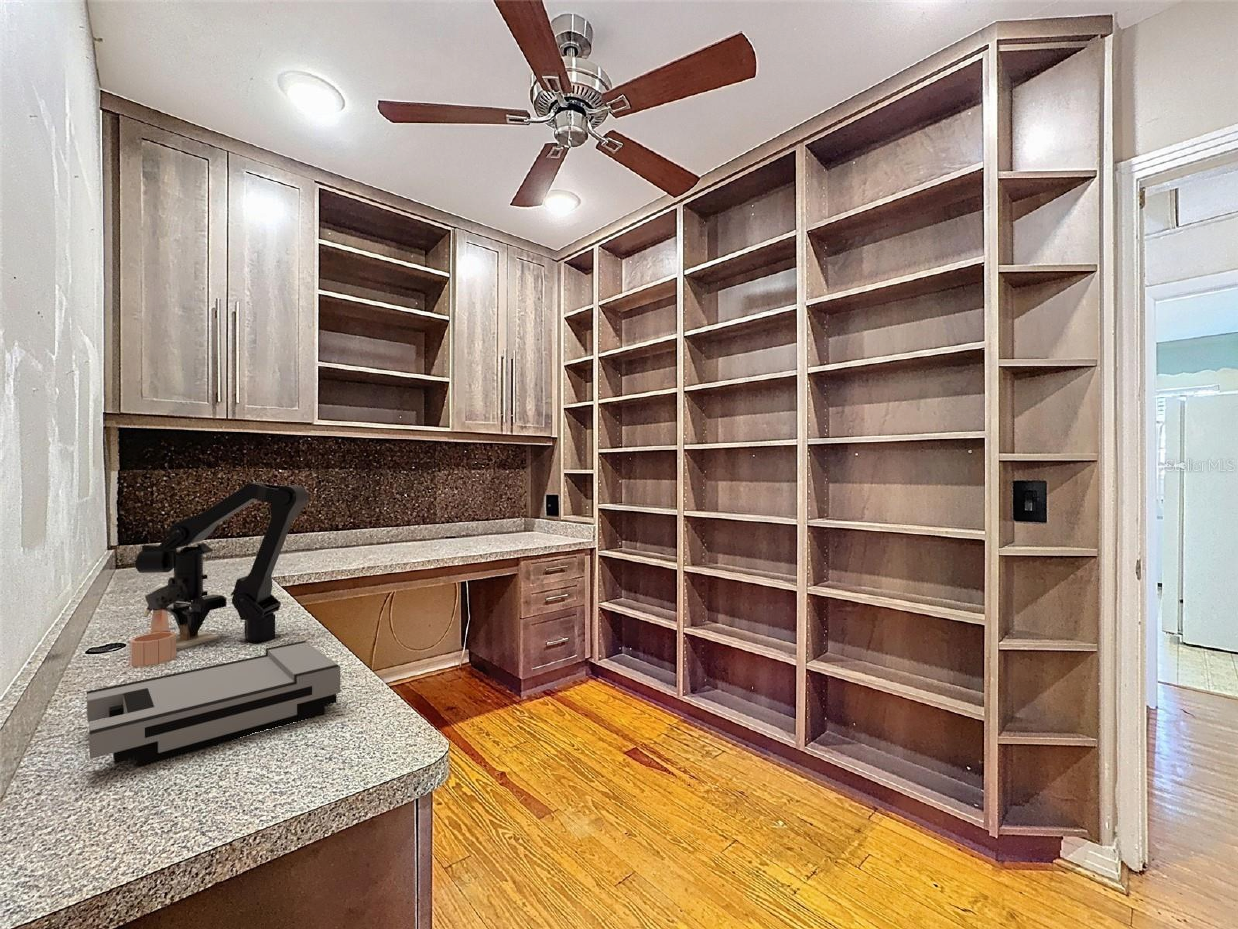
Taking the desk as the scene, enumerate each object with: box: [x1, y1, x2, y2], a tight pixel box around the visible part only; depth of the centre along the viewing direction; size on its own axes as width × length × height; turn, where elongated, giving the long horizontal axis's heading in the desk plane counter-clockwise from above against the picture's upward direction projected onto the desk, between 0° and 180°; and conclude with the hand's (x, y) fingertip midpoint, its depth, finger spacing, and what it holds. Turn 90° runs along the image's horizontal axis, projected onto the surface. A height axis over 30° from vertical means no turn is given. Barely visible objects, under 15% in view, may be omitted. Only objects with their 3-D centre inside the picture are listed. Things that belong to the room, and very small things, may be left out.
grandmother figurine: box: [143, 583, 170, 633], centre depth 147 cm, size 8×4×13 cm, turn 179°
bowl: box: [129, 631, 177, 668], centre depth 125 cm, size 8×8×6 cm
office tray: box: [86, 640, 341, 769], centre depth 96 cm, size 21×32×8 cm, turn 134°
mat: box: [176, 631, 231, 652], centre depth 139 cm, size 12×12×1 cm
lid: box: [176, 623, 221, 649], centre depth 139 cm, size 9×9×4 cm
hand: (188, 636), depth 139 cm, fingers closed on lid, 3 cm apart
